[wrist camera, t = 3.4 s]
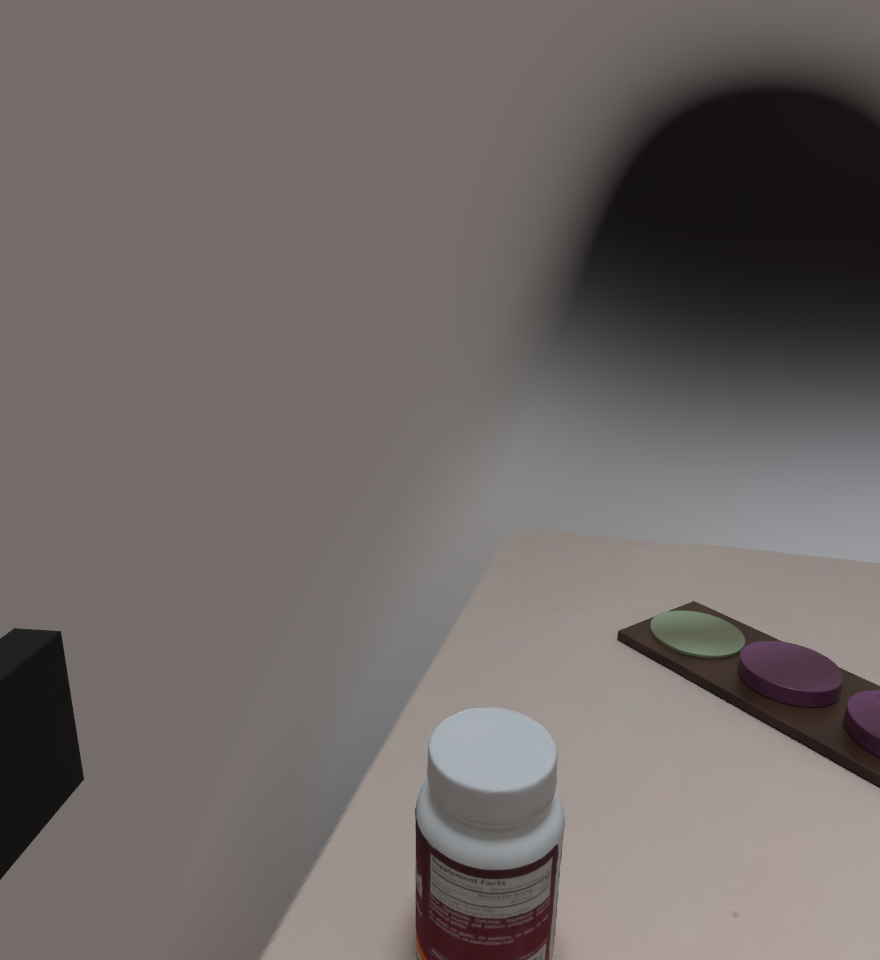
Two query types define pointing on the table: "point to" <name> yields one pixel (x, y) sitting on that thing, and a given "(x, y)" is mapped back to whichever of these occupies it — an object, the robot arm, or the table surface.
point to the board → (769, 681)
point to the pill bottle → (488, 839)
